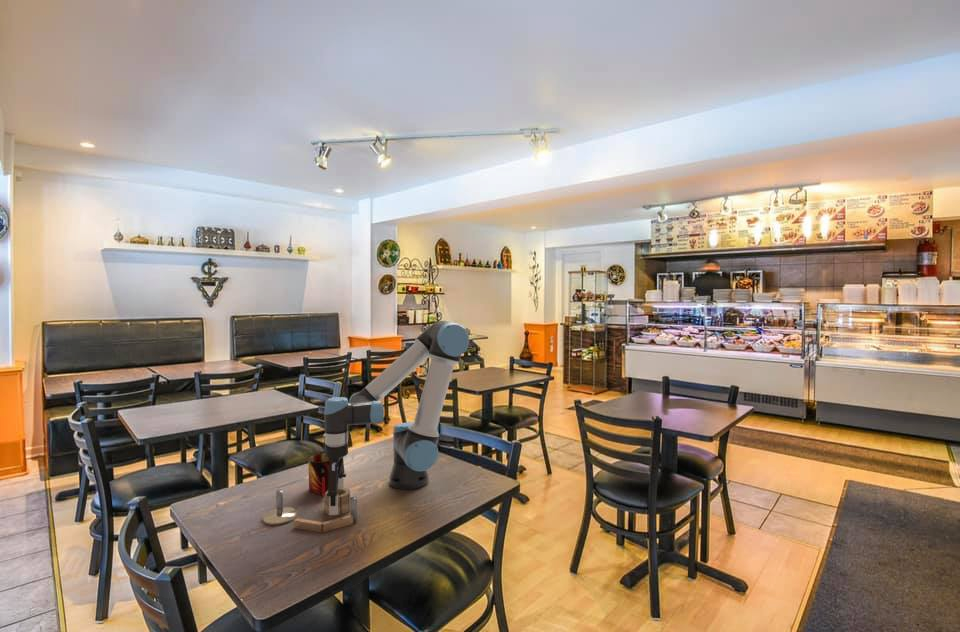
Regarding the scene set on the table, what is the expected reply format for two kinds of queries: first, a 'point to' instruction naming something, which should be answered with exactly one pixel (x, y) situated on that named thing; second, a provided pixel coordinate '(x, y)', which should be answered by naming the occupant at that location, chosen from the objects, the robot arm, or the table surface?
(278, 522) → the peg stand
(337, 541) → the table surface
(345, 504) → the oak ring
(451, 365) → the robot arm
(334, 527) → the bent hammer
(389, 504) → the table surface
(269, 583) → the table surface
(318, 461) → the mug
